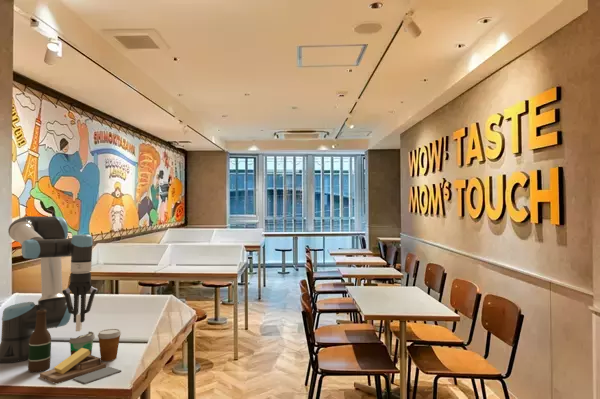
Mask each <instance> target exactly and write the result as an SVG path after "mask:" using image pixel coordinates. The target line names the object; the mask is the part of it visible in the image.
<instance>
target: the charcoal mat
mask: <svg viewBox="0 0 600 399" xmlns="http://www.w3.org/2000/svg"><path fill="white" fill-rule="evenodd" d="M118 373H122V370H121V369H118V368H116V367H112V366H108V367H107V366H106V368H103V369H100V370H97V371H94V372H91V373H88V374H85V375H82V376H78V377H75V378H72V380H73V381H75V382H78V383H81V384H83V385H87V384H89V383H93V382H96V381H99V380H101V379H104V378H106V377H107V378H108V377H111V376H112V375H113V376H114V375H115V374H118Z"/></svg>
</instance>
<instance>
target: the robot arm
mask: <svg viewBox="0 0 600 399" xmlns="http://www.w3.org/2000/svg"><path fill="white" fill-rule="evenodd" d="M7 230H8V232H7V233H8V236H9V237H10V238H11V239H12V240H13V241H15V242H18V244H19V243H20V245H21V254H22V255H21V256H22V257H23V258H24V259H33V260H35V259H40V278H41V279H40V280H41V281H40V283H41V284H40V285H41V297H40V298H39V299H38V300H37V304H36V303H35V302H34V301H26V302H20V303H15V304H13V305H9V306H6V307H5V308H4V309H3V311H2V317H1V336H0V339H1V340H0V364H9V363H11V364H12V363H17V362H18V363H19V362H23V361H28V355H29V340H30V337H31V335H32V333H33V332H34V331H35V326H36V318H37V313H36V312H37V311H38V310H46V311H47V313H46V327H47V330H48V329H57V328H59V327H64V326H66V325H68V324H69V322H70V319H71V316H72V315H73V323H74V324H75V332H80V331H82V329H83V328H82V326H83V323H84V322H85V320H86V317H85V316H86V314H87V313H89V312H90V311H91V308H92V305H93V301H94V298H95V294H96V293H97V292H98V291H99V289H98V288H96V287H93V284H92V273H91V271H92V263H93V262H92V257H93V244H94V243H93V236H92V235H91V234H74V235H72V236H71V238H68V237H69V228H68V223H67V221H66V219H65V218H64V217H61V216H55V215H52V216H51V215H50V216H45V215H44V216H42V215H41V216H37V215H35V216H34V215H33V216H32V215H31V216H28V215H27V216H22V217H20V218H17V219H15V220H14V221H13V222H12V223H11V224H10V225H9V226H8V229H7ZM66 257H70V272H71V273H70V278H69V279H70V280H69V285H68V287H67V288H65V289H63V270H62V266H63V265H62V258H66ZM89 292H90V294H89V298H88V302H87V305H86V301H87V300H86V299H87V294H88V293H89ZM71 293H72V295H73V301H72V297H71ZM79 305H80V307H79ZM79 308H80V310H79ZM79 311H80V313H79Z"/></svg>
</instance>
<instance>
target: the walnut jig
mask: <svg viewBox="0 0 600 399" xmlns="http://www.w3.org/2000/svg"><path fill="white" fill-rule="evenodd" d="M104 368H107V363H104V362H102V360H101V357H98V356H95V355H92V354H91V355H88V356H87V357H86V358H84V359H83V360H81V361H80V362H79V363H77V364H76V365H75V366H73V367H72V368H71V369H69V370H68V371H66V372H65V373H64V374H61V373H58V372H56V371H55V369H54V368H52V369H48V370H45V371H42V372H39V378H41V379H43V380H46V381H49V382H50V383H53V382H54V383H53V384H55V383H57V384H59V382H60V383H62V381H63V382H66V381H68V380H73V378H76V377H79V376H82V375H85V374H88V373H91V372H94V371H97V370H101V369H104Z"/></svg>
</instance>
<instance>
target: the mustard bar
mask: <svg viewBox="0 0 600 399" xmlns="http://www.w3.org/2000/svg"><path fill="white" fill-rule="evenodd" d="M88 355H90V351H89V350H88V349H85V348H81V349H79V350H78V351H77V352H75V353H74V354H72V355H71V354H70V355H69V356H68V357H66V358H65V359H64V360H62V361H61V362H60V363H58V364H56V365H55V366H54V367H53V369H55V371H56V372H58V373H61V374H64V373H65V372H66V371H68V370H69V369H71V368H72V367H73V366H75V365H76V364H77V363H79V362H80V361H81V360H83V359H84V358H86V357H87V356H88Z"/></svg>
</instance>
